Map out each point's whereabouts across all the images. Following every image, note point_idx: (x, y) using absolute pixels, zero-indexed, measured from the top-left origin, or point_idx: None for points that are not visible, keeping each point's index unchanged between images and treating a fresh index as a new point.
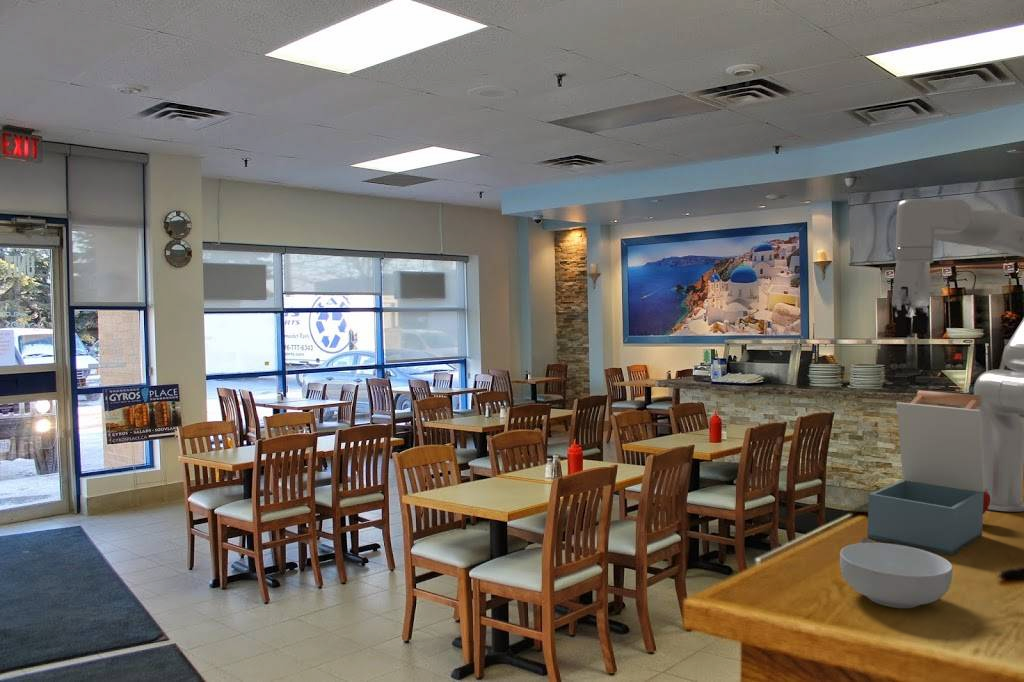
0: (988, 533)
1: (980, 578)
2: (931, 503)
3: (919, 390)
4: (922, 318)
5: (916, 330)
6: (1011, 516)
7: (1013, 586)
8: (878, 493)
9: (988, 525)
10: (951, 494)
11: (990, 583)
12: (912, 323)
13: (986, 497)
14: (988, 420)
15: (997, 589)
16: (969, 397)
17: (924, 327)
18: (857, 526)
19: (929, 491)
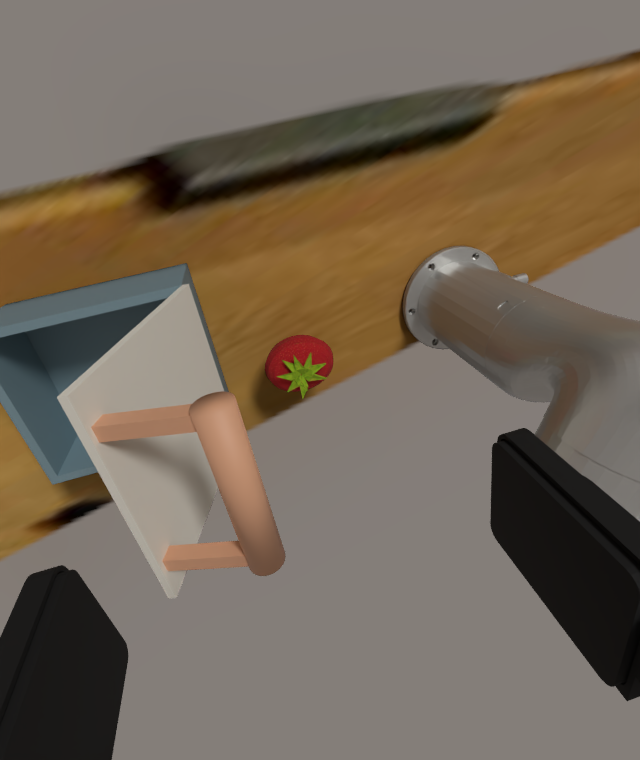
0: (254, 390)
1: (23, 506)
2: None
3: (209, 420)
4: (600, 641)
5: (507, 487)
6: (391, 350)
7: (41, 537)
8: (2, 336)
9: None
10: None
11: (18, 522)
12: (560, 507)
13: (295, 391)
14: (521, 364)
15: (6, 537)
16: (247, 555)
17: (526, 565)
18: (53, 238)
19: None
